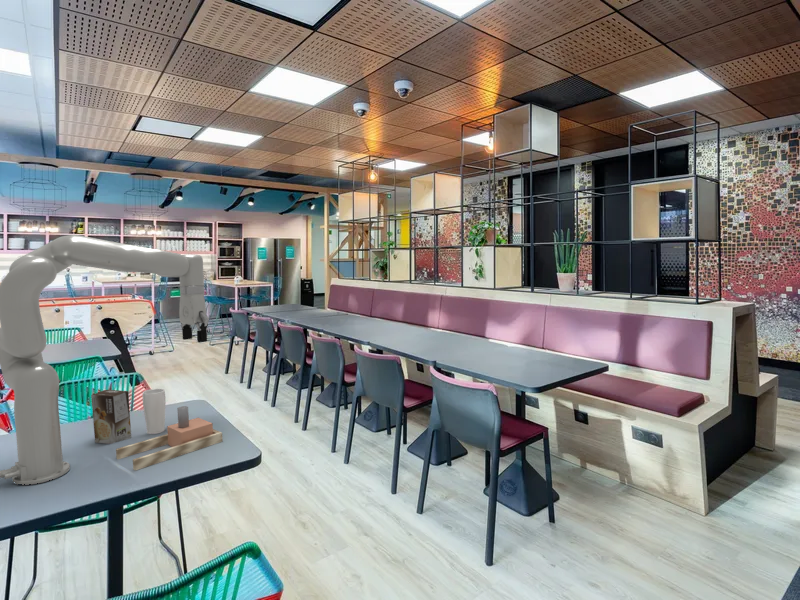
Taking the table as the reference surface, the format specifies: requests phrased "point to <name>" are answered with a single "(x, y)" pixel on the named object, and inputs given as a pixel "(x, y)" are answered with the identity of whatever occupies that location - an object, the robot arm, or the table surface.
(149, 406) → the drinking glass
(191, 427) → the salmon block with knob
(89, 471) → the table surface
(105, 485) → the table surface
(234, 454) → the table surface
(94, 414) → the coffee box
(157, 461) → the bay
